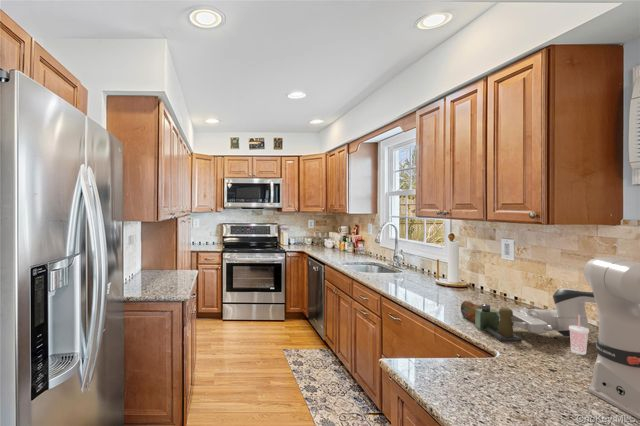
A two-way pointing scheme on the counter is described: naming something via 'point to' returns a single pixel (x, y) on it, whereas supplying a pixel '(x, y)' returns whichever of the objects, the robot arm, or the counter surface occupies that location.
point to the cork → (505, 322)
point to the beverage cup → (578, 338)
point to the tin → (469, 310)
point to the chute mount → (491, 323)
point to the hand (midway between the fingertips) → (506, 320)
